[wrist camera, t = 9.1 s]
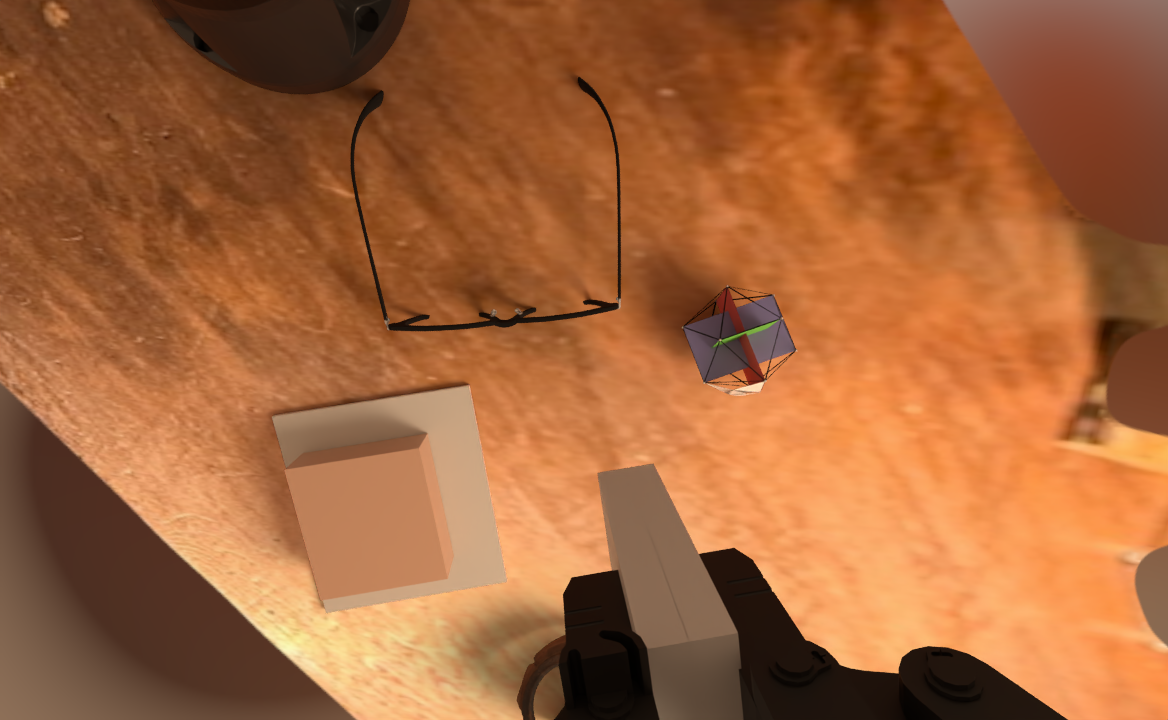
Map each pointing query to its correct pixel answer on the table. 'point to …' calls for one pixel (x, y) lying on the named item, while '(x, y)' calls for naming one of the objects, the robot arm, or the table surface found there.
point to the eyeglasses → (493, 320)
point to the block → (371, 516)
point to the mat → (456, 471)
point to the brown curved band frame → (538, 675)
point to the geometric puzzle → (739, 340)
